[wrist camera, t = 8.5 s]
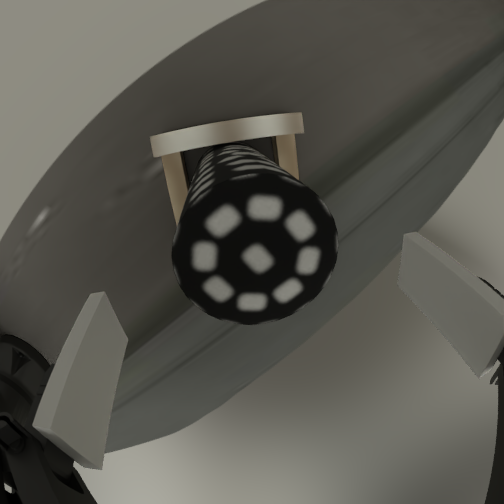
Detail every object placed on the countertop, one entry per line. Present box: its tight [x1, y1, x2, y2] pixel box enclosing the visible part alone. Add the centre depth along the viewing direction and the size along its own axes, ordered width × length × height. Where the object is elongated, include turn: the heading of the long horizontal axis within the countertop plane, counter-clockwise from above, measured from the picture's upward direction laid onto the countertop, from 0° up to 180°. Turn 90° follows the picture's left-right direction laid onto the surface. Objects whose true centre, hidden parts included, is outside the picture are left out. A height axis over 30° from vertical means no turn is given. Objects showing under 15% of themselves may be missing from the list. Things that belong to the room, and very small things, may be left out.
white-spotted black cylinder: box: [172, 141, 338, 325], centre depth 23 cm, size 8×8×20 cm
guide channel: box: [150, 112, 304, 310], centre depth 31 cm, size 14×22×6 cm, turn 8°
